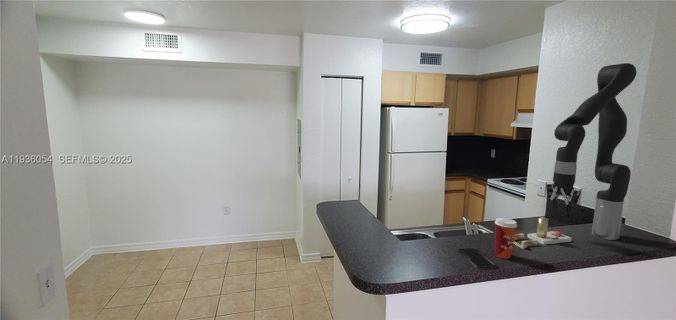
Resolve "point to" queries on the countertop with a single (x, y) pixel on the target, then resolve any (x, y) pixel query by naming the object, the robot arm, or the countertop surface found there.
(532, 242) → the beige channel block
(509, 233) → the paper cup
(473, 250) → the phone
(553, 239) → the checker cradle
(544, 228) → the cell
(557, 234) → the button
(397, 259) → the countertop surface
